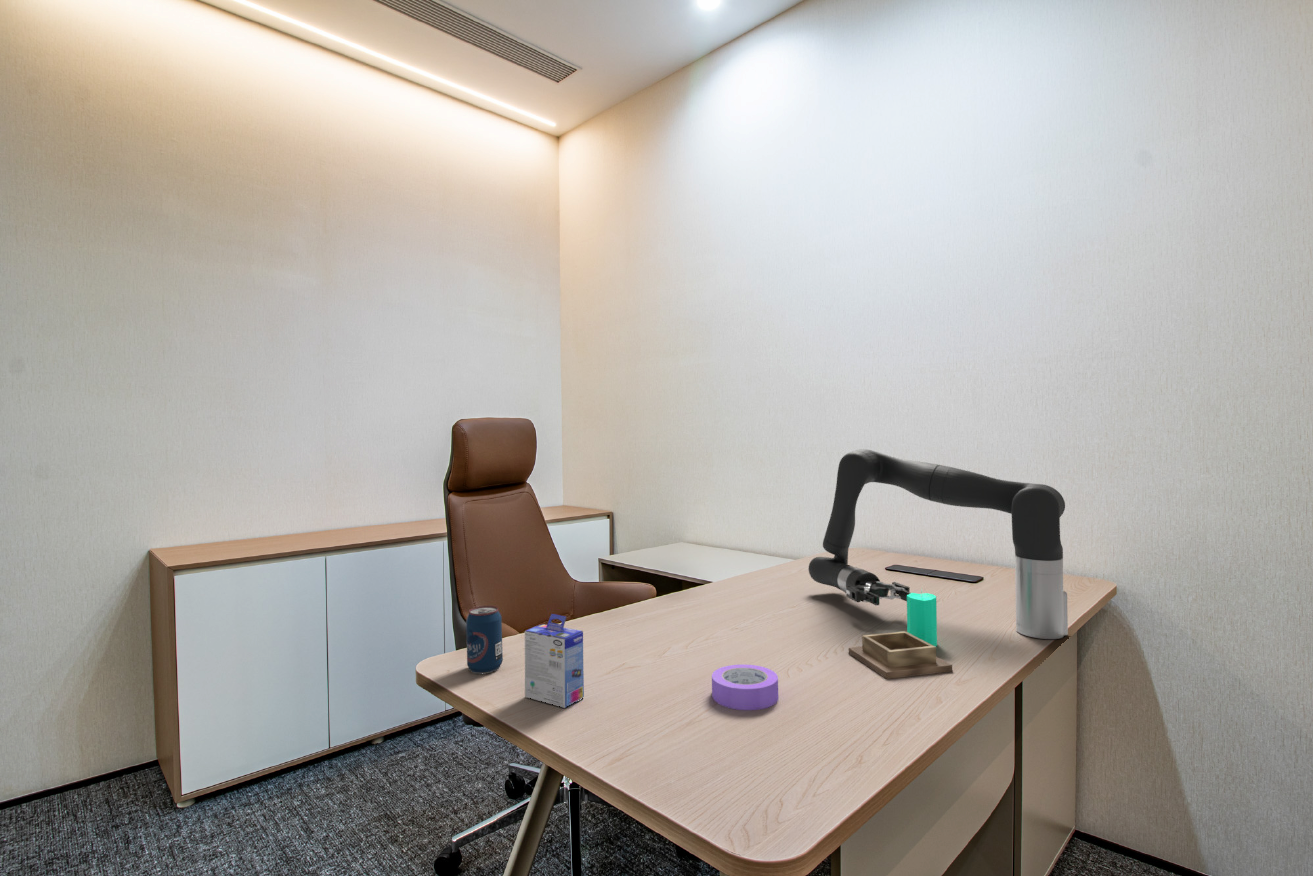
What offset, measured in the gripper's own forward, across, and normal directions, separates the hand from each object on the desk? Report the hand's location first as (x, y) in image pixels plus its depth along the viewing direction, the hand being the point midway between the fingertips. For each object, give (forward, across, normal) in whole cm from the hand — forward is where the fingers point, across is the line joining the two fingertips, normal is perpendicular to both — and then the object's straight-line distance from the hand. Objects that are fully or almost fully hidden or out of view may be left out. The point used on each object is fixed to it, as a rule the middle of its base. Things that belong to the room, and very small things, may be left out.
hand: (894, 599), depth 147 cm
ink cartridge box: (+17, -79, +7) cm, 81 cm away
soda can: (-1, -92, +7) cm, 92 cm away
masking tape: (+25, -46, +8) cm, 53 cm away
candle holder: (+18, -11, +7) cm, 22 cm away
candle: (+10, 0, +7) cm, 12 cm away
